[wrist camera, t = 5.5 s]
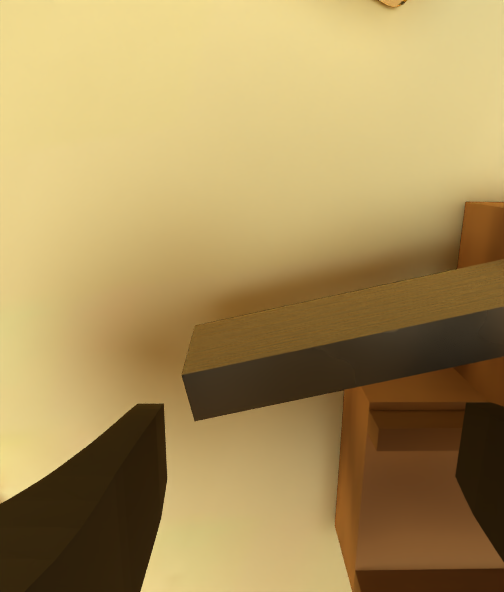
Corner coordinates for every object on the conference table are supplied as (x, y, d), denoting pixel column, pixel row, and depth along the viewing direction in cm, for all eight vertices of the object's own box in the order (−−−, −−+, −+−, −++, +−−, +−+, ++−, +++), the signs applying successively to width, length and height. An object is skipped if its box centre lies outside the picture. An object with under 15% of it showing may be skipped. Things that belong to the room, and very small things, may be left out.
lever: (205, 365, 12) (195, 431, 9) (194, 321, 11) (178, 374, 9) (627, 275, 11) (759, 313, 9) (627, 228, 11) (764, 249, 8)
